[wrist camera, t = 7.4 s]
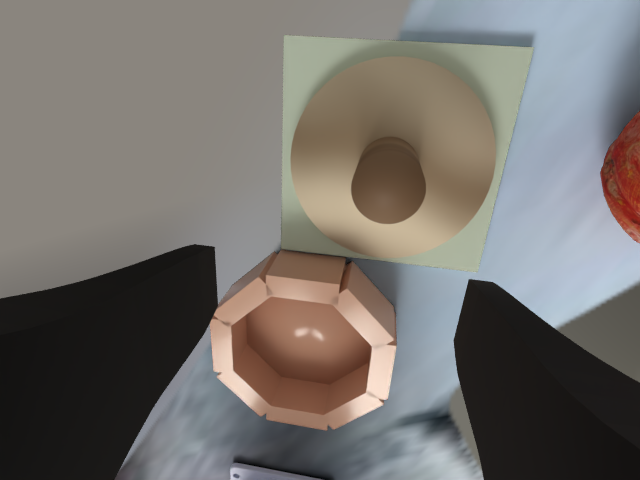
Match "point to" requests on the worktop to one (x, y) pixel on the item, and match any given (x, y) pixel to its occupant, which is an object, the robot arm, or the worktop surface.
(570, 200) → the worktop surface
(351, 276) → the dish
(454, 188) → the lid
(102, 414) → the robot arm
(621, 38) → the worktop surface
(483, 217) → the mat
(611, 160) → the pomegranate
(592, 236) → the worktop surface
